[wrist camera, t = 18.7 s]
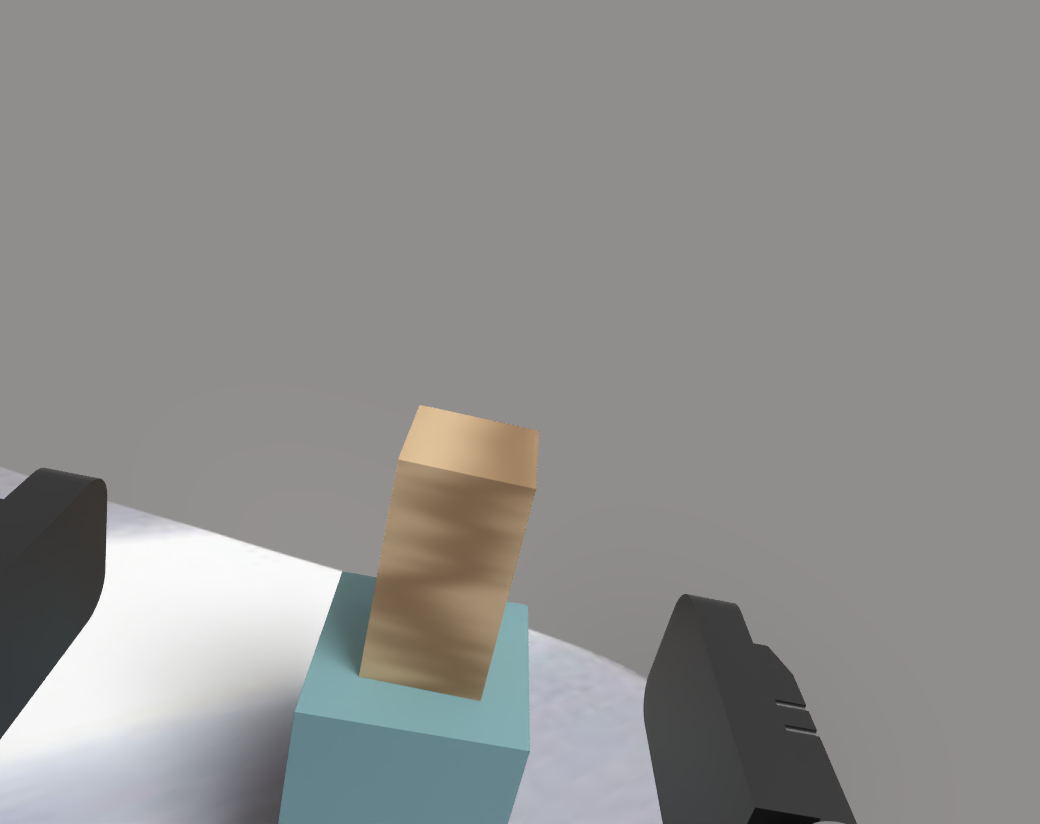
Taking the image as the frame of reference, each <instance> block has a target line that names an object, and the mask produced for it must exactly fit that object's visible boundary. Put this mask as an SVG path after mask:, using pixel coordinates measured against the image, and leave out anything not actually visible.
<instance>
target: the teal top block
mask: <svg viewBox="0 0 1040 824" xmlns="http://www.w3.org/2000/svg"><path fill="white" fill-rule="evenodd" d="M376 579H377V578H375V577H370V576H365V575H359V574H354V573H348V572H342V574H341V577H340V580H339V583H338V586H337V589H336V592H335V595H334V598H333V601H332V604H331V606H330V609H329V612H328V615H327V618H326V621H325V624H324V627H323V630H322V633H321V636H320V638H319V641H318V644H317V647H316V650H315V653H314V656H313V659H312V662H311V665H310V668H309V671H308V673H307V676H306V679H305V682H304V685H303V688H302V691H301V694H300V697H299V700H298V703H297V705H296V708H295V711H294V718H293V725H292V731H291V738H290V745H289V752H288V759H287V766H286V773H285V780H284V787H283V794H282V801H281V807H280V814H279V821H278V824H508V821H509V818H510V815H511V811H512V808H513V805H514V801H515V798H516V795H517V792H518V788H519V785H520V782H521V778H522V775H523V772H524V768H525V765H526V762H527V759H528V755H529V752H530V730H529V651H528V605H523V604H518V603H512V602H507V603H506V606H505V610H504V614H503V618H502V622H501V625H500V629H499V633H498V637H497V641H496V645H495V648H494V652H493V656H492V660H491V664H490V668H489V671H488V675H487V679H486V683H485V687H484V691H483V694H482V698H481V701H477V700H472V699H467V698H462V697H458V696H453V695H448V694H443V693H438V692H433V691H428V690H423V689H418V688H413V687H408V686H403V685H398V684H393V683H388V682H383V681H378V680H373V679H368V678H363V677H359V673H360V668H361V662H362V657H363V651H364V646H365V640H366V634H367V629H368V623H369V618H370V612H371V607H372V601H373V596H374V590H375V585H376Z"/></svg>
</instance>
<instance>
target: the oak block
mask: <svg viewBox="0 0 1040 824" xmlns="http://www.w3.org/2000/svg"><path fill="white" fill-rule="evenodd" d="M538 439H539V431H537V430H532V429H527V428H523V427H519V426H514V425H509V424H505V423H500V422H496V421H491V420H487V419H481V418H477V417H472V416H468V415H463V414H459V413H454V412H450V411H445V410H441V409H436V408H432V407H427V406H423V405H420V406H419V408H418V411H417V414H416V416H415V419H414V421H413V423H412V426H411V428H410V431H409V433H408V436H407V438H406V441H405V443H404V446H403V449H402V451H401V454H400V456H399V459H398V463H397V469H396V474H395V480H394V485H393V491H392V496H391V502H390V507H389V513H388V518H387V524H386V529H385V535H384V541H383V546H382V552H381V557H380V563H379V568H378V574H377V579H376V585H375V590H374V596H373V601H372V607H371V612H370V618H369V623H368V629H367V634H366V640H365V646H364V651H363V657H362V662H361V668H360V673H359V677H363V678H368V679H373V680H378V681H383V682H388V683H393V684H398V685H403V686H408V687H413V688H418V689H423V690H428V691H433V692H438V693H443V694H448V695H453V696H458V697H462V698H467V699H472V700H477V701H481V698H482V694H483V691H484V687H485V683H486V679H487V675H488V671H489V668H490V664H491V660H492V656H493V652H494V648H495V645H496V641H497V637H498V633H499V629H500V625H501V622H502V618H503V614H504V610H505V606H506V603H507V599H508V595H509V591H510V587H511V583H512V580H513V576H514V572H515V568H516V564H517V560H518V557H519V553H520V549H521V545H522V541H523V537H524V533H525V530H526V526H527V522H528V518H529V514H530V511H531V507H532V503H533V499H534V495H535V491H536V481H537V460H538Z"/></svg>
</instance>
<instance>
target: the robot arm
mask: <svg viewBox="0 0 1040 824" xmlns="http://www.w3.org/2000/svg"><path fill="white" fill-rule="evenodd" d="M106 523H107V488H106V484H105V482H104V481H103V480H102V479H98V478H94V477H89V476H83V475H78V474H73V473H68V472H63V471H58V470H53V469H47V468H40V469H38V470H37V471H35V472H34V473H33V474H32V475H30V476H29V477H28V478H27V479H26V480H25V481H24V482H23V483H21V484H20V485H19V486H18V487H17V488H16V489H15V490H14V491H12V492H11V493H10V494H9V495H8V496H7V497H6V498H5V499H0V739H1V738H2V736H3V735H4V734H5V732H6V731H7V730H8V728H9V727H10V726H11V724H12V723H13V721H14V720H15V719H16V717H17V716H18V715H19V713H20V712H21V711H22V709H23V708H24V707H25V705H26V704H27V703H28V701H29V700H30V699H31V697H32V696H33V695H34V693H35V692H36V691H37V689H38V688H39V687H40V685H41V684H42V682H43V681H44V680H45V678H46V677H47V676H48V674H49V673H50V672H51V670H52V669H53V668H54V666H55V665H56V664H57V662H58V661H59V660H60V658H61V657H62V656H63V654H64V653H65V652H66V650H67V649H68V648H69V646H70V645H71V643H72V642H73V641H74V639H75V638H76V637H77V635H78V634H79V633H80V631H81V630H82V629H83V627H84V626H85V625H86V623H87V622H88V620H89V619H90V617H91V616H92V614H93V612H94V610H95V608H96V606H97V603H98V601H99V598H100V595H101V592H102V588H103V584H104V578H105V560H106ZM805 706H806V704H805V702H804V699H803V697H802V695H801V693H800V690H799V688H798V686H797V683H796V681H795V679H794V676H793V674H792V673H791V672H790V671H789V670H788V669H787V668H786V666H785V665H784V664H783V663H782V662H781V661H780V660H779V658H778V657H777V656H776V655H775V654H774V653H773V652H772V650H771V649H770V648H769V647H768V646H765V645H759V644H754V643H753V642H752V639H751V637H750V634H749V631H748V629H747V626H746V624H745V621H744V618H743V616H742V613H741V611H740V609H739V607H738V606H737V605H736V604H735V603H729V602H724V601H719V600H714V599H709V598H703V597H698V596H693V595H688V594H684V595H682V596H681V597H680V598H679V600H678V601H677V603H676V605H675V608H674V610H673V613H672V615H671V618H670V621H669V624H668V626H667V629H666V631H665V634H664V636H663V639H662V642H661V644H660V647H659V649H658V652H657V655H656V657H655V660H654V663H653V665H652V668H651V670H650V673H649V676H648V679H647V683H646V688H645V695H644V722H645V728H646V733H647V739H648V744H649V750H650V755H651V761H652V766H653V772H654V777H655V783H656V788H657V794H658V799H659V805H660V810H661V816H662V821H663V824H857V823H856V821H855V818H854V816H853V814H852V811H851V809H850V807H849V804H848V802H847V800H846V797H845V795H844V793H843V790H842V788H841V786H840V783H839V781H838V779H837V777H836V774H835V772H834V770H833V767H832V765H831V762H830V760H829V758H828V755H827V753H826V751H825V748H824V746H823V744H822V741H821V739H820V737H818V736H816V731H817V730H816V727H815V725H814V723H813V721H812V718H811V716H810V714H809V712H808V711H806V710H805Z"/></svg>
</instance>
